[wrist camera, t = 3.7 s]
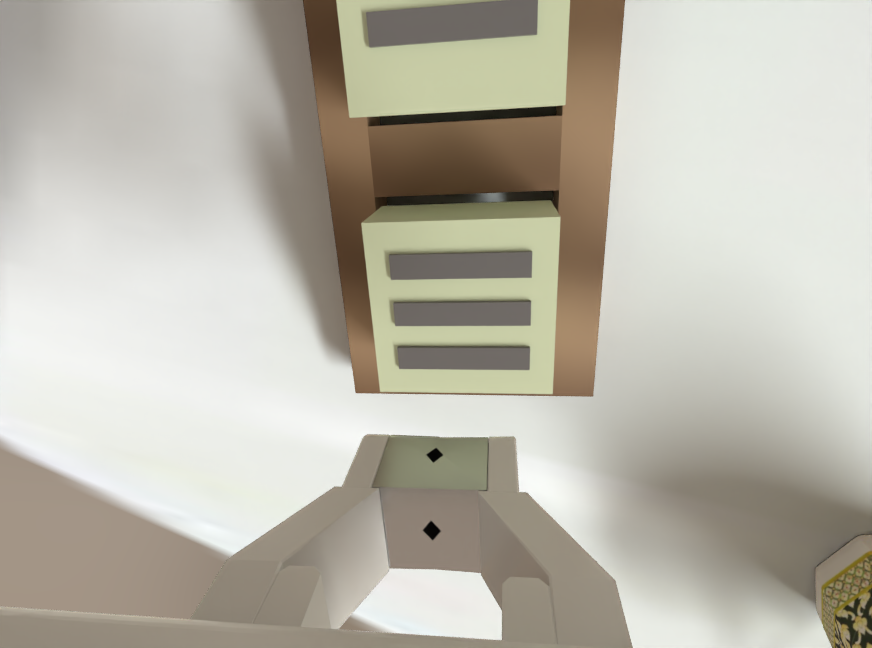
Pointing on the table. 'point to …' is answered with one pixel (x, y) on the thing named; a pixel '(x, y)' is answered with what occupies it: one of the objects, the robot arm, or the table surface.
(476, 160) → the frame
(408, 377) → the tile three
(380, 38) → the tile two
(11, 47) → the table surface
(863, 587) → the ceramic cup
